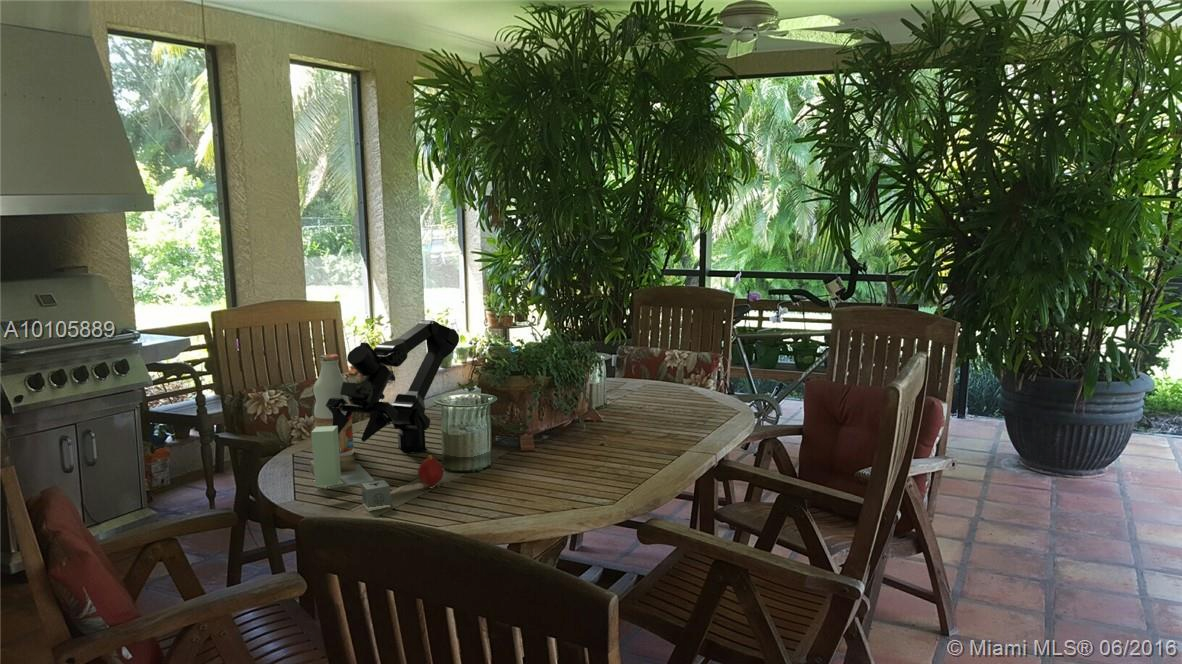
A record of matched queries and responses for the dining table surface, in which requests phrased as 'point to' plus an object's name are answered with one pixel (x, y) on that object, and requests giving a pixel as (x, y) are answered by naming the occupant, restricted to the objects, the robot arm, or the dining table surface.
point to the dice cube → (376, 493)
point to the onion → (430, 471)
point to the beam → (342, 464)
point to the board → (352, 478)
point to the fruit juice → (331, 388)
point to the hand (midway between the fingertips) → (347, 439)
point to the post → (326, 455)
